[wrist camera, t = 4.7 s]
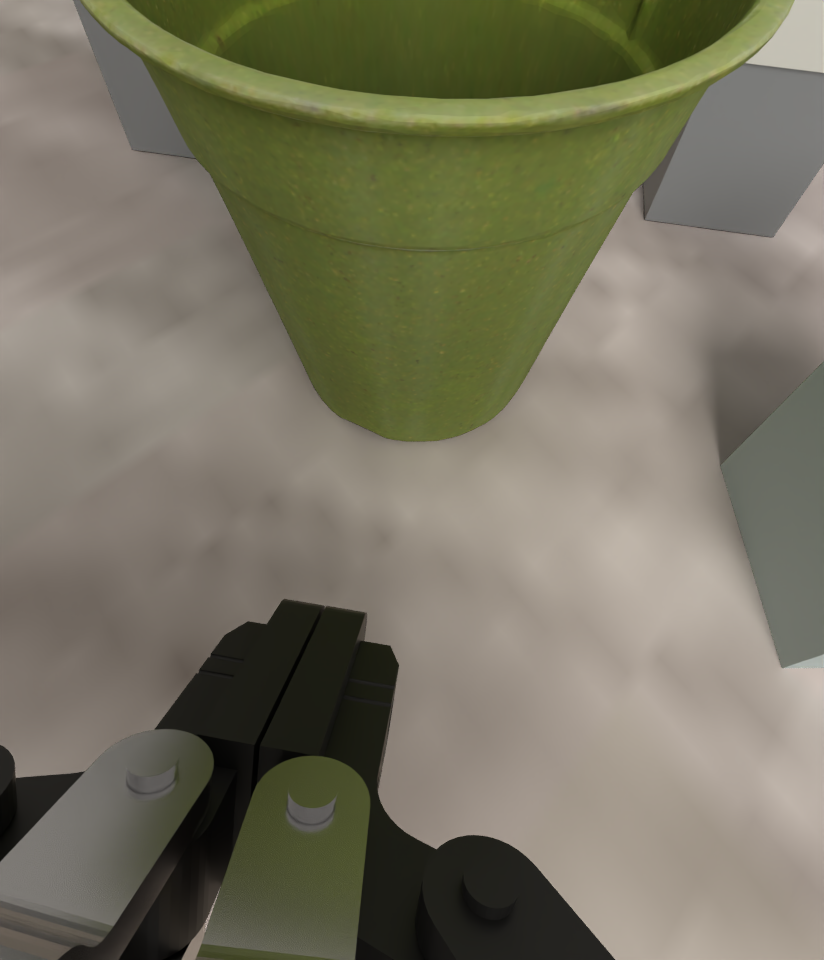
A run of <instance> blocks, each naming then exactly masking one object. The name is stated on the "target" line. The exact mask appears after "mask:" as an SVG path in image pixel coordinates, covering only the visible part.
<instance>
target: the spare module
mask: <svg viewBox="0 0 824 960" xmlns="http://www.w3.org/2000/svg"><path fill="white" fill-rule="evenodd" d="M720 466H721V470H722V473H723V476H724V479H725V483H726V486H727V489H728V493H729V496H730V499H731V502H732V506H733V509H734V512H735V516H736V519H737V522H738V525H739V529H740V532H741V535H742V538H743V542H744V545H745V548H746V552H747V555H748V558H749V561H750V565H751V568H752V571H753V575H754V578H755V581H756V584H757V588H758V591H759V594H760V597H761V601H762V604H763V607H764V611H765V614H766V617H767V620H768V624H769V627H770V630H771V634H772V637H773V640H774V643H775V647H776V650H777V653H778V656H779V660H780V663H781V666H782V668H824V362H823V363H822V364H821V365H820V366H819V367H818V368H817V369H816V370H815V371H814V372H813V373H812V374H811V375H810V376H809V377H808V378H807V379H806V380H805V381H804V382H803V383H802V384H801V385H800V386H799V387H798V388H797V389H796V390H795V391H794V392H793V393H792V394H791V395H790V396H789V397H788V398H787V399H786V400H785V401H784V402H783V403H782V404H781V405H780V406H779V407H778V408H777V409H776V410H775V411H774V412H773V413H772V414H771V415H770V416H769V417H768V418H767V419H766V420H765V421H764V422H763V423H762V424H761V425H760V426H759V427H758V428H757V429H756V430H755V431H754V432H753V433H752V434H751V435H750V436H749V437H748V438H747V439H746V440H745V441H744V442H743V443H742V444H741V445H740V446H739V447H738V448H737V449H736V450H735V451H734V452H733V453H732V454H731V455H730V456H729V457H728V458H727V459H726V460H725V461H724V462H723V463H722V464H721V465H720Z"/></svg>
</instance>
